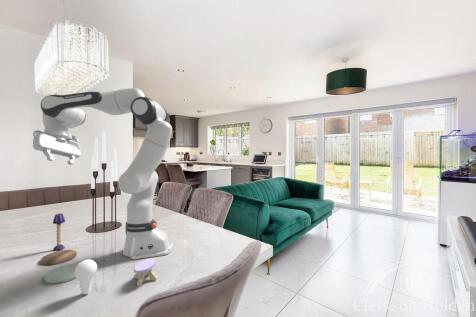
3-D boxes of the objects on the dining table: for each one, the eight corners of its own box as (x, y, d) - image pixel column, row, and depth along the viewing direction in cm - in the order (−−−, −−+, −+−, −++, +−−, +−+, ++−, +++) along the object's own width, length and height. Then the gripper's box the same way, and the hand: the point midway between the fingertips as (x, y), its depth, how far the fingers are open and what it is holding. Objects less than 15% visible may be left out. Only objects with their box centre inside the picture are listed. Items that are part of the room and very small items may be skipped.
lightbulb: (77, 302, 68) (77, 267, 68) (72, 294, 72) (72, 260, 72) (99, 293, 72) (99, 260, 72) (93, 286, 77) (94, 254, 76)
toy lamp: (50, 249, 105) (50, 214, 104) (61, 246, 109) (61, 212, 109) (56, 251, 103) (57, 215, 103) (67, 247, 107) (67, 213, 107)
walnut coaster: (81, 251, 103) (81, 249, 103) (67, 263, 92) (67, 261, 92) (52, 253, 101) (52, 250, 101) (33, 266, 89) (33, 263, 89)
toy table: (144, 289, 75) (145, 272, 75) (124, 283, 78) (124, 267, 78) (163, 275, 84) (164, 260, 84) (145, 270, 88) (145, 256, 87)
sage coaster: (90, 265, 91) (90, 262, 91) (74, 282, 79) (75, 278, 79) (57, 268, 88) (57, 265, 88) (36, 285, 76) (36, 281, 76)
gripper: (38, 125, 95) (42, 154, 91) (81, 139, 114) (86, 163, 110) (27, 132, 96) (30, 160, 92) (71, 144, 115) (75, 168, 111)
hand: (61, 162), depth 101 cm, fingers open, 8 cm apart
